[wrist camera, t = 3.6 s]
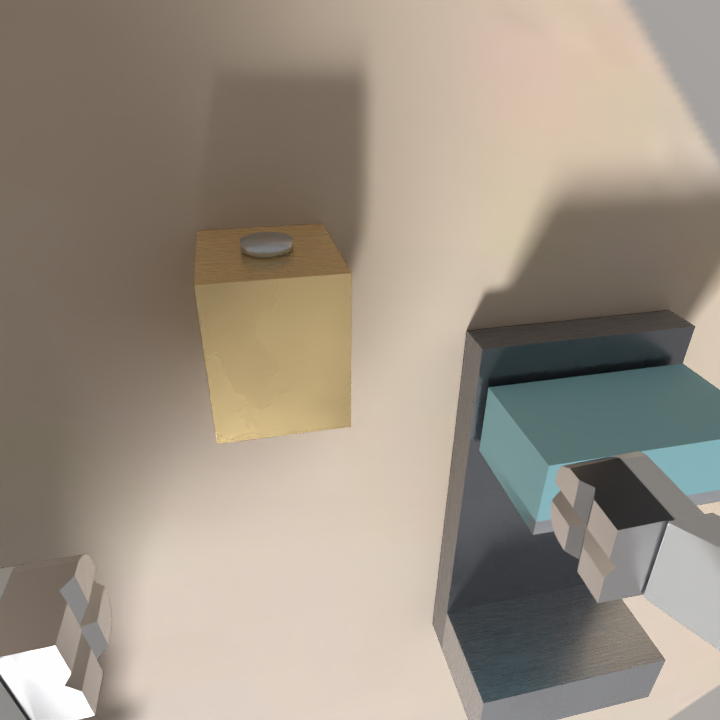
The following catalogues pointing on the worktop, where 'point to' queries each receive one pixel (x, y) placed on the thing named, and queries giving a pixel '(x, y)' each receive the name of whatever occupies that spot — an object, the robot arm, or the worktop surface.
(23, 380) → the worktop surface
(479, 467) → the press bed
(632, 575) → the robot arm
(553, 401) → the block
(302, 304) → the tan short block
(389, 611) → the worktop surface
